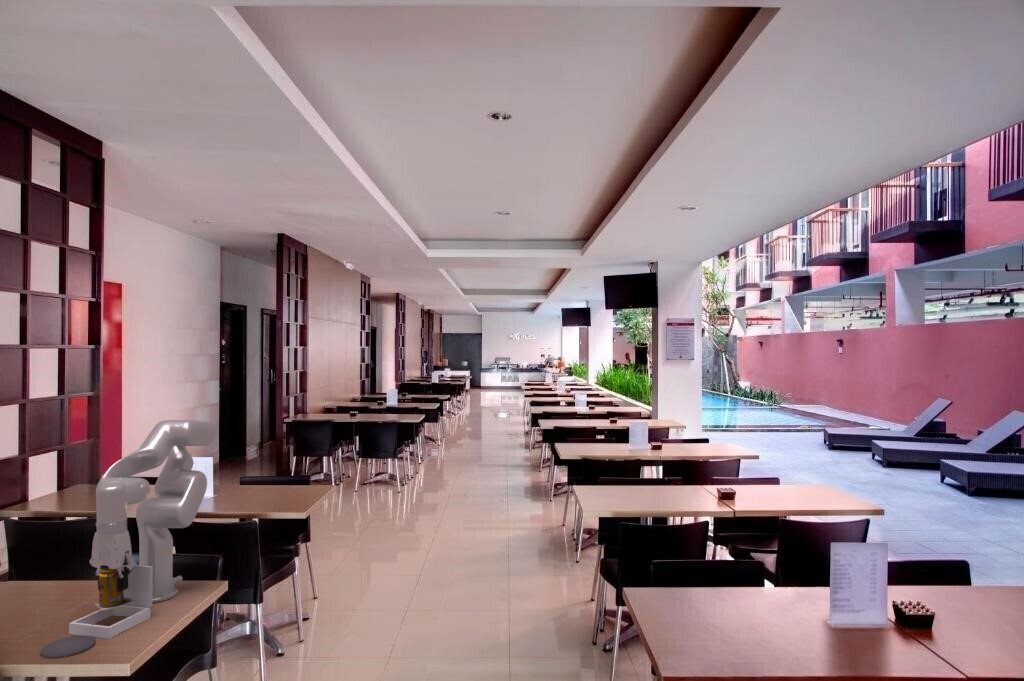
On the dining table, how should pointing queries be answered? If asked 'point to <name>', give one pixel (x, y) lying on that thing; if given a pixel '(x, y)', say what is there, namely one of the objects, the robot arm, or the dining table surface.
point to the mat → (68, 646)
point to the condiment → (110, 589)
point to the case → (121, 608)
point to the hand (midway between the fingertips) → (113, 588)
